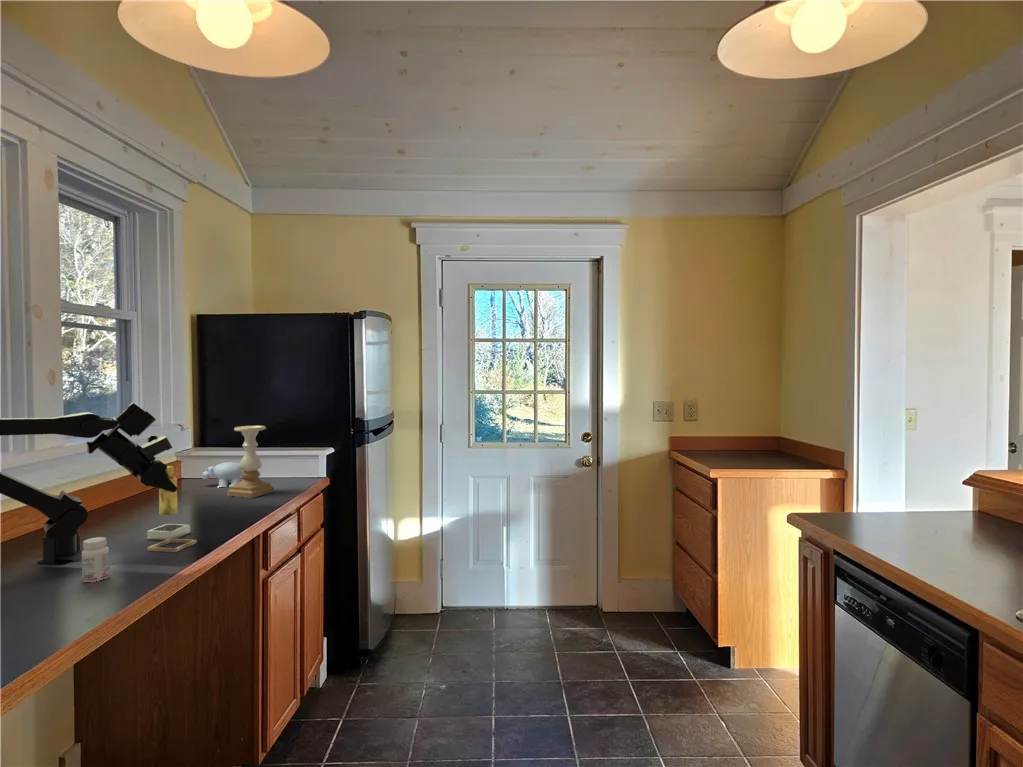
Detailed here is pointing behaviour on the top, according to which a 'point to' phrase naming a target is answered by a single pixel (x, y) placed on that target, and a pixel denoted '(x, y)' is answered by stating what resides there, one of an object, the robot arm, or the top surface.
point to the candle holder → (250, 467)
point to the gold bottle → (168, 496)
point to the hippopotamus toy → (224, 473)
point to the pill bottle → (95, 560)
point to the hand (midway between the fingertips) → (174, 489)
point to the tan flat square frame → (158, 548)
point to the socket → (168, 531)
